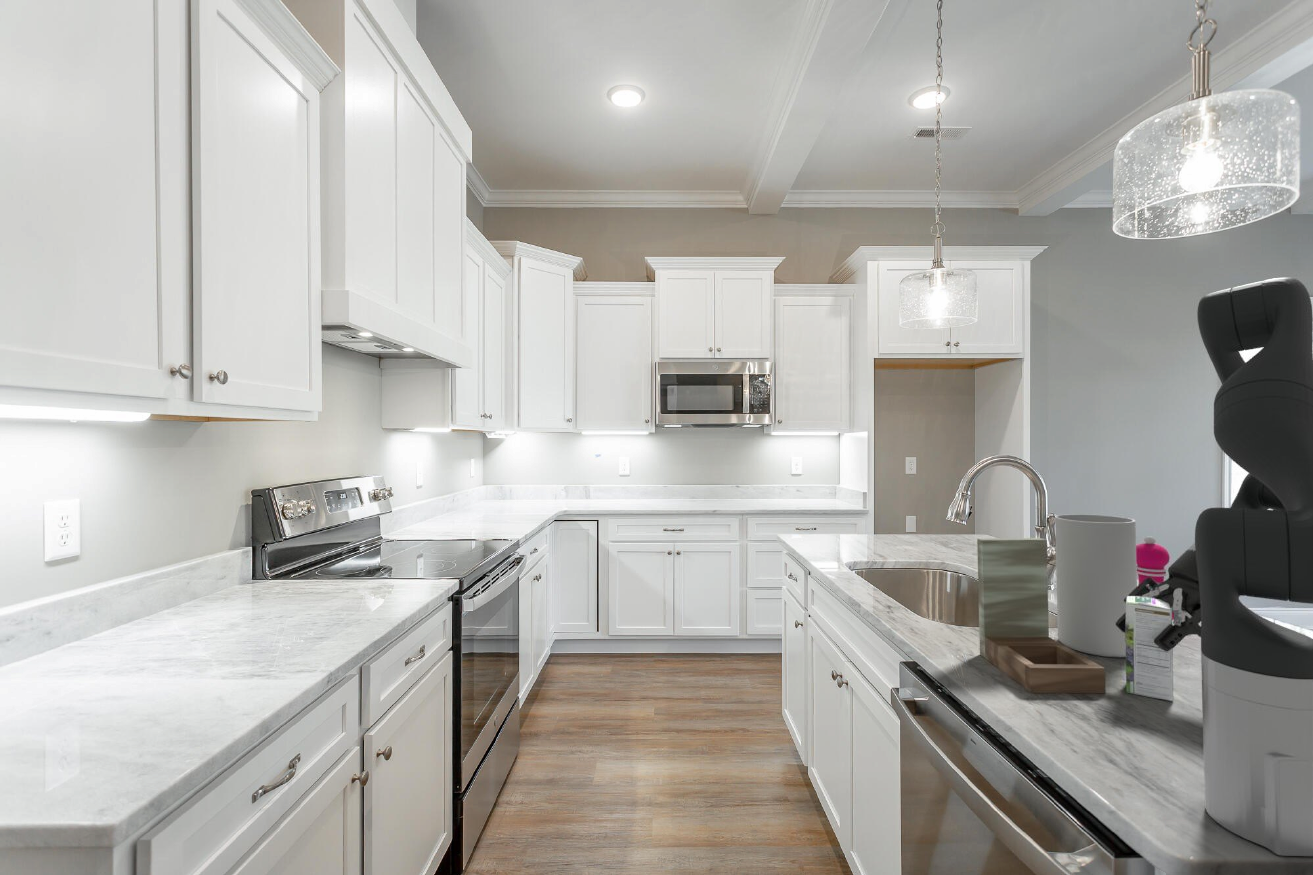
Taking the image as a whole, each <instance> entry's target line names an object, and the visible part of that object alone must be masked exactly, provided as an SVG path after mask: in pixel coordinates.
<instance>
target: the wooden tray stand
mask: <svg viewBox="0 0 1313 875" xmlns="http://www.w3.org/2000/svg"><path fill="white" fill-rule="evenodd" d="M976 541H977V542H976V543H977V546H976V548H977V581H978V582H977V584H978V585H977V587H978V625H979V626H978V628H979V629H978V630H979V631H978V632H979V633H978V634H979V655H980V656H981V657H983V658H986V659H985V660H987V661H988V662H990V664H992V665H993V664H994V665H993V666H994V667H996V668H997V669H998V670H1000V671H1001V672H1002V673H1004V674H1005V673H1006V674H1005V675H1007V676H1008V677H1009V678H1011V679H1012V680H1013V681H1014V682H1016V683H1017V684H1019V685H1020V686H1021V687H1022V688H1024V689H1026V690H1027V691H1029V693H1033V694H1034V693H1035V694H1036V693H1039V694H1106V692H1107V691H1106V688H1107V687H1106V686H1107V684H1106V668H1105V667H1104V666H1102V665H1101V664H1098V663H1097V662H1095V661H1093V660H1091V659H1090V658H1087V657H1086V656H1084V655H1082V654H1080V653H1079V652H1078V651H1076V650H1074V649H1071V648H1069V647H1067V646H1065V645H1064V644H1062V643H1061V642H1060V641H1059V642H1058V641H1057V640H1055V639H1053V638H1052V637H1051V636H1050V629H1049V628H1050V627H1049V625H1050V624H1049V618H1050V617H1049V586H1048V585H1049V584H1048V582H1049V581H1048V579H1049V578H1048V546H1047V545H1048V543H1047V542H1048V541H1047V539H1045V538H1041V537H1019V538H1018V537H1014V538H1013V537H1012V538H1011V537H1009V538H1008V537H1006V538H997V537H993V538H989V537H988V538H977V539H976Z"/></svg>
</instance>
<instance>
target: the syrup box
mask: <svg viewBox="0 0 1313 875" xmlns="http://www.w3.org/2000/svg"><path fill="white" fill-rule="evenodd" d="M1169 624H1171V625H1173V620H1172V606H1170V605H1169V604H1168V603H1166V602H1164V601H1162V600H1160V599H1155V598H1148V597H1139V596H1127V599H1126V625H1125V652H1126V657H1125V685H1126V686H1125V687H1126V688H1125V689H1126V692H1127V693H1129V694H1133V695H1138V696H1143V697H1149V698H1153V699H1158V700H1164V701H1170V702H1174V652H1173V651H1174V648H1172V649H1170V650H1169V651H1164V650H1162V649H1161V648H1159V647H1158V646H1157V645H1156V644H1155V643H1154V639H1155V638H1156V637H1157V636H1158V635H1159V634H1160V633H1161V632H1162V631H1163V630H1164V629H1165V628H1166V627H1167V626H1168V625H1169Z"/></svg>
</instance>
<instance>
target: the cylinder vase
mask: <svg viewBox="0 0 1313 875" xmlns="http://www.w3.org/2000/svg"><path fill="white" fill-rule="evenodd" d="M1054 526H1055V527H1054V529H1055V530H1054V533H1055V534H1054V538H1055V568H1056V570H1055V574H1056V578H1055V579H1056V581H1055V582H1056V610H1057V611H1056V612H1057V640H1058V641H1059V643H1061V644H1062V645H1064V646H1066V647H1068V648H1070V649H1071V650H1073V651H1076V652H1080V653H1084V654H1089V655H1092V656H1099V657H1106V658H1126V652H1125V633H1124V632H1122V631H1121V630H1120V629H1119V628H1118V627H1117V626H1116V622H1117V620H1118V619H1119V618H1121V616H1122V615H1123V614H1124V613H1125V612H1126V603H1125V602H1124V599H1125V598H1126V597H1127V596H1128V595H1129V594H1130V593H1131V592H1132V591H1133V590H1134V589H1135V588H1136V587H1137V586H1138V578H1137V577H1138V573H1137V563H1136V546H1137V535H1136V534H1137V532H1136V528H1137V526H1136V519H1134V518H1128V517H1122V516H1114V515H1101V514H1084V513H1083V514H1081V513H1080V514H1079V513H1077V514H1072V513H1071V514H1058V515H1057V514H1056V515H1055V516H1054Z"/></svg>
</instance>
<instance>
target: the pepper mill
mask: <svg viewBox="0 0 1313 875" xmlns="http://www.w3.org/2000/svg"><path fill="white" fill-rule="evenodd" d="M1169 562H1170V554H1169V551H1168V550H1167V549H1166V548H1165V547H1163V546H1162V545H1160V544H1156V538H1155V537H1154V536H1151V535H1147V536H1146V537H1144V543H1139V544H1138V545H1137V544H1136V564H1137V577H1138V578H1137V579H1138V585H1139V584H1140V583H1141V582H1142V581H1144V580H1145V579H1146V578H1148V577H1151V578H1152V579H1153V580H1154V581H1155V582H1158V583H1162V582H1164V581H1165V577H1166V576H1167V574H1168V573H1167V572H1168V570H1167V568H1165V567H1166V566H1167V565H1168V564H1169ZM1173 620H1174V614H1172V621H1173Z"/></svg>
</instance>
